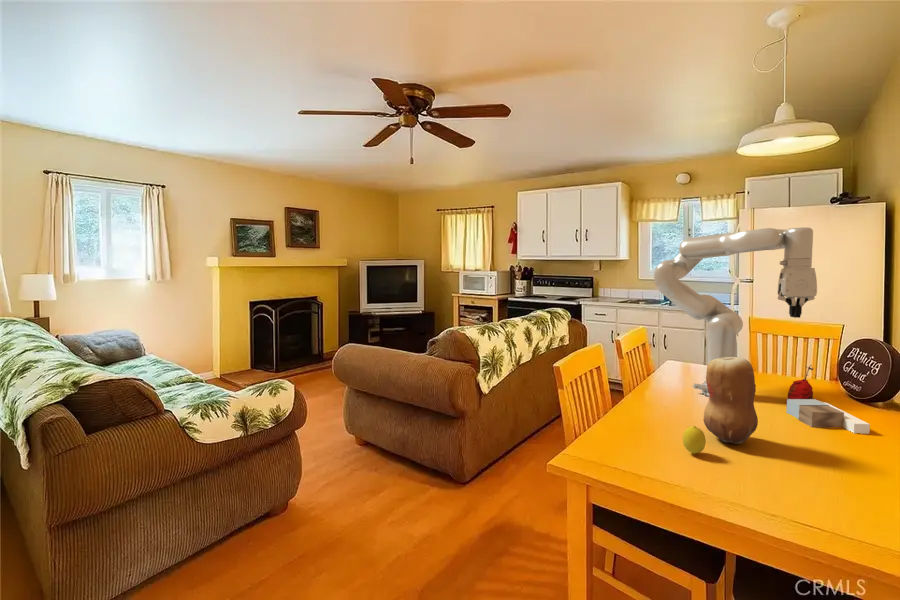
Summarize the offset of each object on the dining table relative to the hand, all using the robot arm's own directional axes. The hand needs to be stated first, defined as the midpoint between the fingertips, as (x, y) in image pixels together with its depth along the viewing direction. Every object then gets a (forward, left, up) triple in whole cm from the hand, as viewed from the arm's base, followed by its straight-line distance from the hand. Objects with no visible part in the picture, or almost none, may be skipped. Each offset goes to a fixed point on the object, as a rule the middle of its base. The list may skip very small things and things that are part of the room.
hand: (795, 317), depth 152 cm
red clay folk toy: (+5, +4, -32) cm, 33 cm away
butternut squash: (-33, -34, -32) cm, 57 cm away
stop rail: (+7, -13, -32) cm, 35 cm away
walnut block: (0, -16, -32) cm, 36 cm away
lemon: (-46, -44, -32) cm, 71 cm away
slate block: (0, -9, -32) cm, 34 cm away
